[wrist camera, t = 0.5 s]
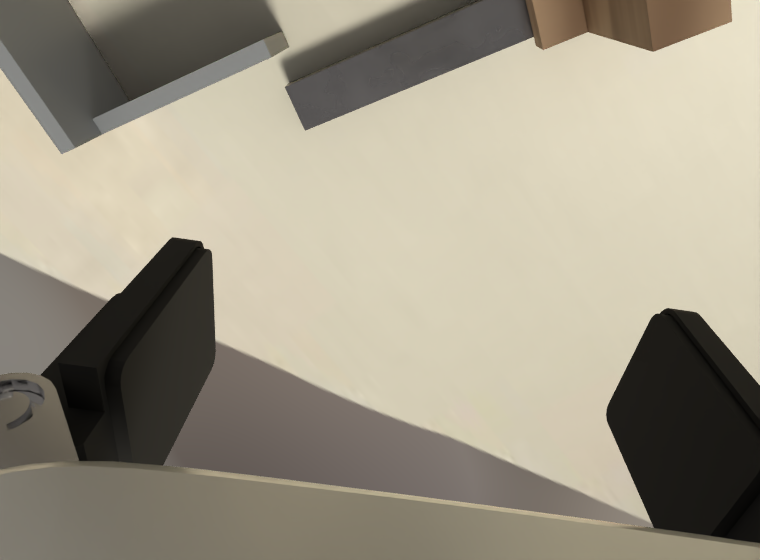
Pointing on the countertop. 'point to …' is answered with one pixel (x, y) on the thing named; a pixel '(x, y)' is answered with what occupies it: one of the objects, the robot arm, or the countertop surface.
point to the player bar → (626, 20)
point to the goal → (89, 72)
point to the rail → (410, 59)
